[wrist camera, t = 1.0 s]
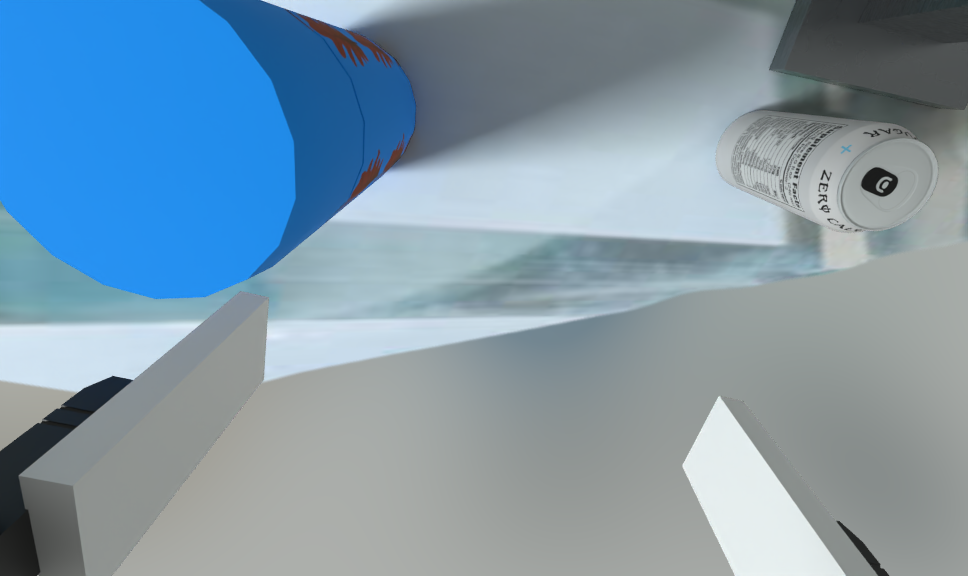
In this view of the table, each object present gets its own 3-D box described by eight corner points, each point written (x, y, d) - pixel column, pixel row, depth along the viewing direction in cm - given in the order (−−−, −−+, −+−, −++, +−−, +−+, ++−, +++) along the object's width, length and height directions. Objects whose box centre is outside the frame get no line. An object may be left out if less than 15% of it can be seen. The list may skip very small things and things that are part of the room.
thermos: (445, 95, 38) (366, 117, 15) (373, 203, 41) (218, 356, 18) (324, -1, 35) (3, -157, 12) (258, 121, 39) (-88, 179, 16)
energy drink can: (757, 197, 40) (894, 258, 26) (695, 169, 39) (803, 216, 26) (803, 128, 38) (979, 154, 24) (738, 96, 37) (881, 105, 23)
